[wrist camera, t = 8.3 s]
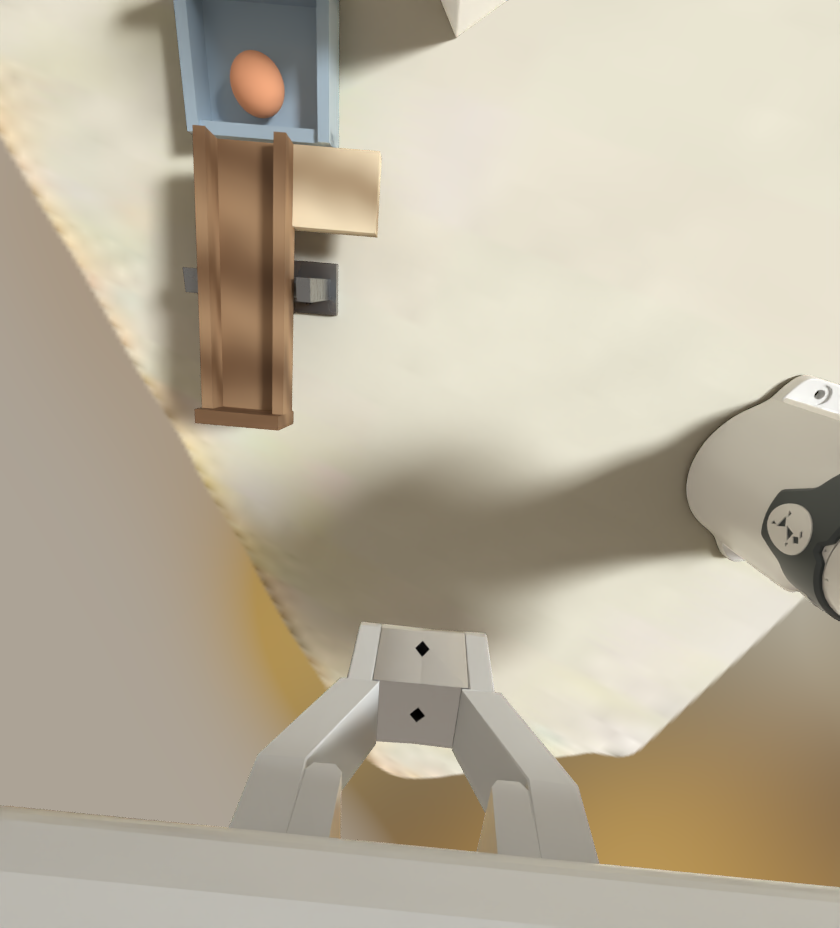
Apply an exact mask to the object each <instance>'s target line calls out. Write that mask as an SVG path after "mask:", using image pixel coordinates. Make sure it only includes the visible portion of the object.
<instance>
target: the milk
mask: <svg viewBox="0 0 840 928" xmlns="http://www.w3.org/2000/svg"><path fill="white" fill-rule="evenodd" d="M506 1H508V0H441V2H442V4H443V7H444V9H445V12H446V14H447V17H448V19H449V22H450V24H451V27H452V29H453V32H454V34H455V36H456V37H458V36H459V35H461V34H462V33H463V32H465V31H466V30H468V29H469V28H470V27H472V26H473V25H474V24H476V23H477V22H479V21H480V20H481V19H483V18H484V17H485V16H487V15H488V14H490V13H491V12H492V11H494V10H495V9H496V8H498V7H499V6H501V5H502V4H503V3H505V2H506Z"/></svg>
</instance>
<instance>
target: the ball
mask: <svg viewBox="0 0 840 928" xmlns="http://www.w3.org/2000/svg"><path fill="white" fill-rule="evenodd" d="M230 84H231V88H232V91H233V94H234V96H235V98H236V100H237V102H238V103H239V104H240V106H241V107H242V108H243V109H244V110H245V111H246V112H248V113H249V114H251V115H252V116H254V117H257V118H269V117H272V116H274V115H275V114H277V113H278V111H279V110H280V109H281V107H282V105H283V102H284V96H285V89H284V82H283V79H282V76H281V73H280V71H279V69H278V68H277V66H276V65H275V63H274V62H273V61H272V60H271V59H270V58H269V57H268V56H266V55H265V54H263V53H261V52H259V51H256V50H246V51H243V52H241V53H240V54H238V55H237V56H236V57H235V59H234V60H233V63H232V65H231V69H230Z"/></svg>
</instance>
